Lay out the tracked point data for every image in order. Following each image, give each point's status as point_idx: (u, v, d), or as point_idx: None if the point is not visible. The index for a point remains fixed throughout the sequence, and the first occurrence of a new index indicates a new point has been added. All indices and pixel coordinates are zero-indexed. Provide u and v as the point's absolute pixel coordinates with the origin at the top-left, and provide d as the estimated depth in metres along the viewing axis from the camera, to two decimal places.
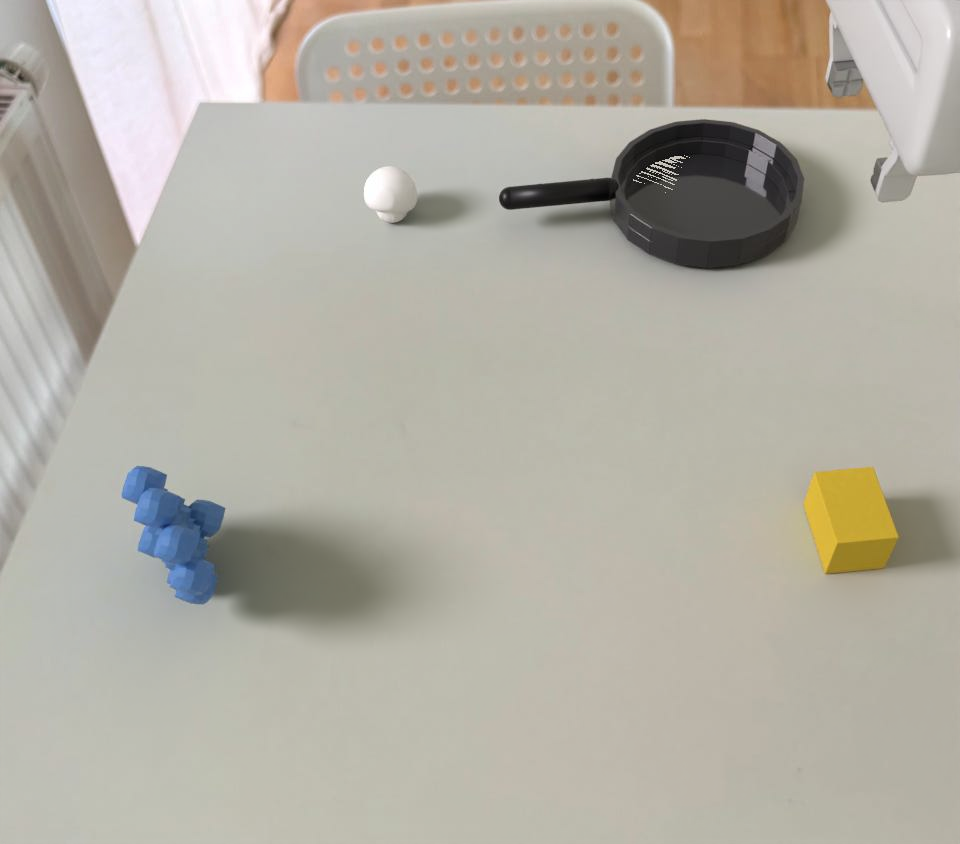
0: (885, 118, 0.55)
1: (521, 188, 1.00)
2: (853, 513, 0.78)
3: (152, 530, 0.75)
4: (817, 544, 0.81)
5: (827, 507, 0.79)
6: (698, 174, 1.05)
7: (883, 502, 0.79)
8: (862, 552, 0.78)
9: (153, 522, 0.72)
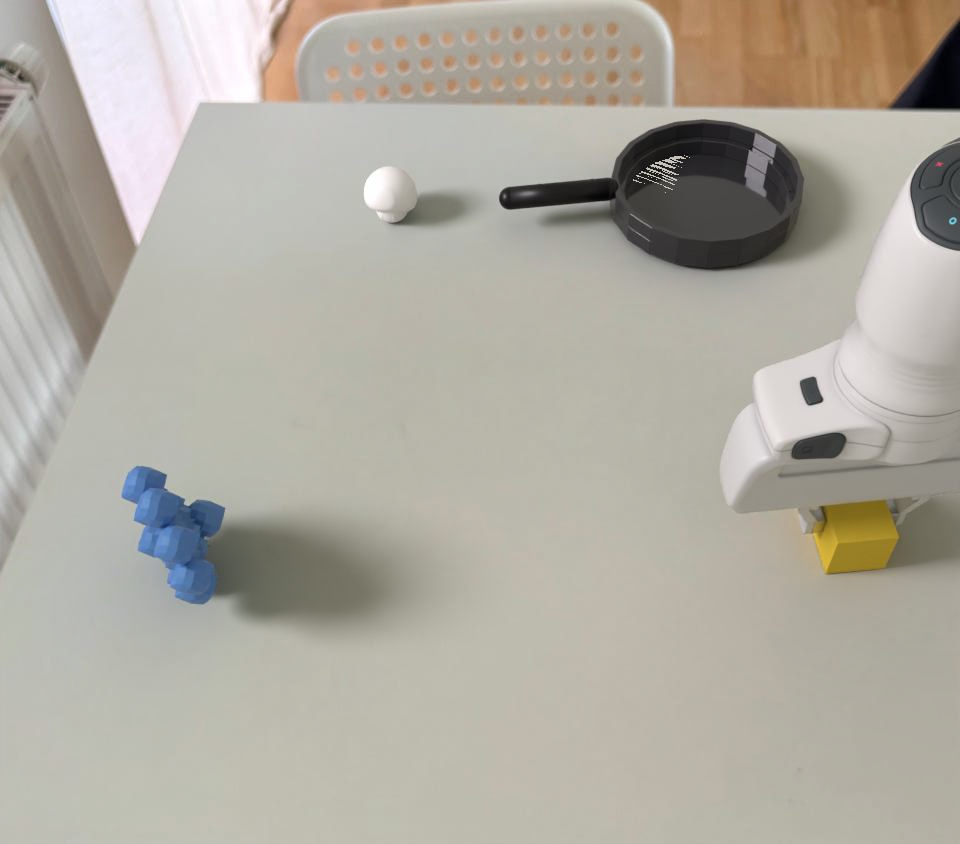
0: (953, 490, 0.75)
1: (521, 188, 1.00)
2: (854, 513, 0.78)
3: (152, 530, 0.75)
4: (818, 544, 0.81)
5: (827, 507, 0.79)
6: (698, 174, 1.05)
7: (884, 502, 0.79)
8: (863, 552, 0.78)
9: (153, 522, 0.72)
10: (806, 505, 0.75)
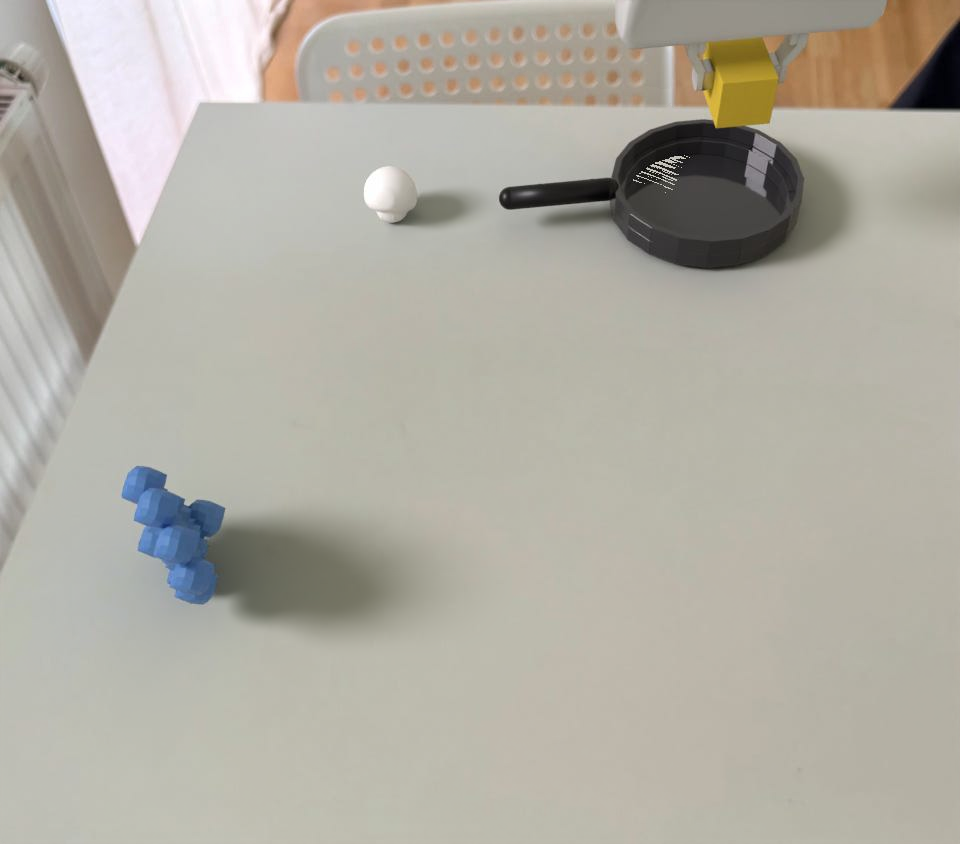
0: (825, 26, 0.83)
1: (521, 188, 1.00)
2: (739, 63, 0.86)
3: (152, 530, 0.75)
4: (710, 105, 0.89)
5: (716, 59, 0.87)
6: (698, 174, 1.05)
7: (767, 55, 0.87)
8: (747, 98, 0.86)
9: (153, 522, 0.72)
10: (692, 39, 0.83)
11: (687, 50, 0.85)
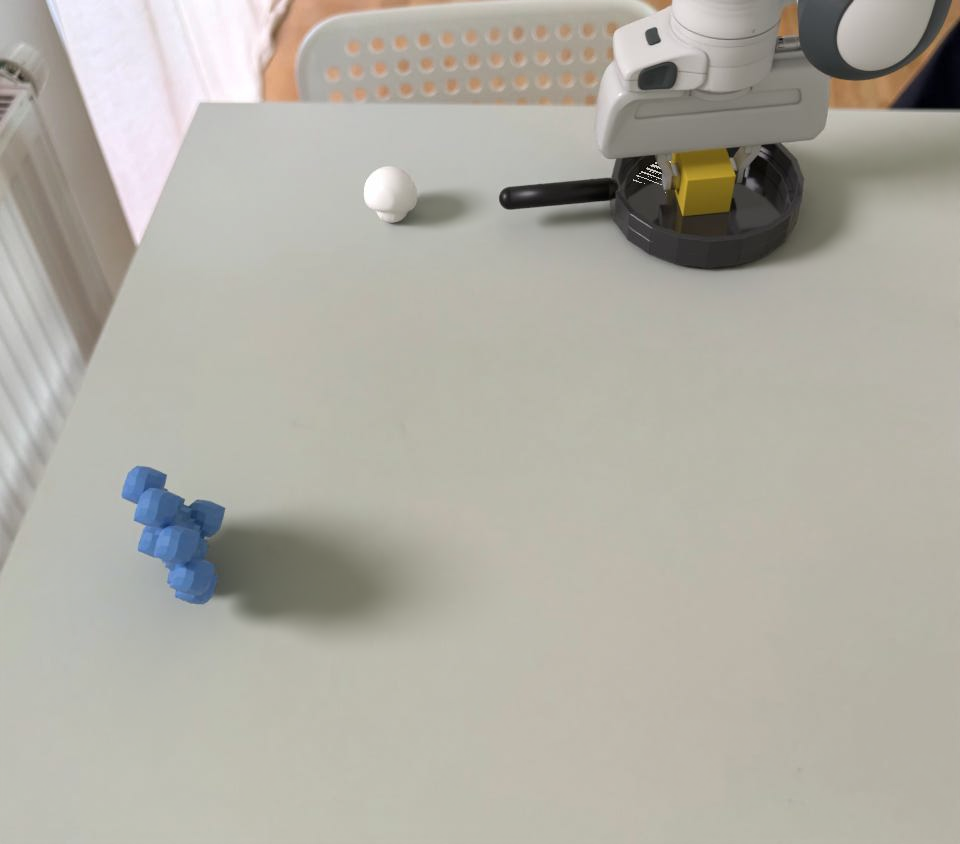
0: (774, 139, 0.97)
1: (521, 188, 1.00)
2: (702, 162, 1.00)
3: (152, 530, 0.75)
4: (678, 196, 1.03)
5: (682, 158, 1.00)
6: None
7: (726, 154, 1.00)
8: (709, 191, 1.00)
9: (153, 522, 0.72)
10: (660, 151, 0.97)
11: (656, 158, 0.99)
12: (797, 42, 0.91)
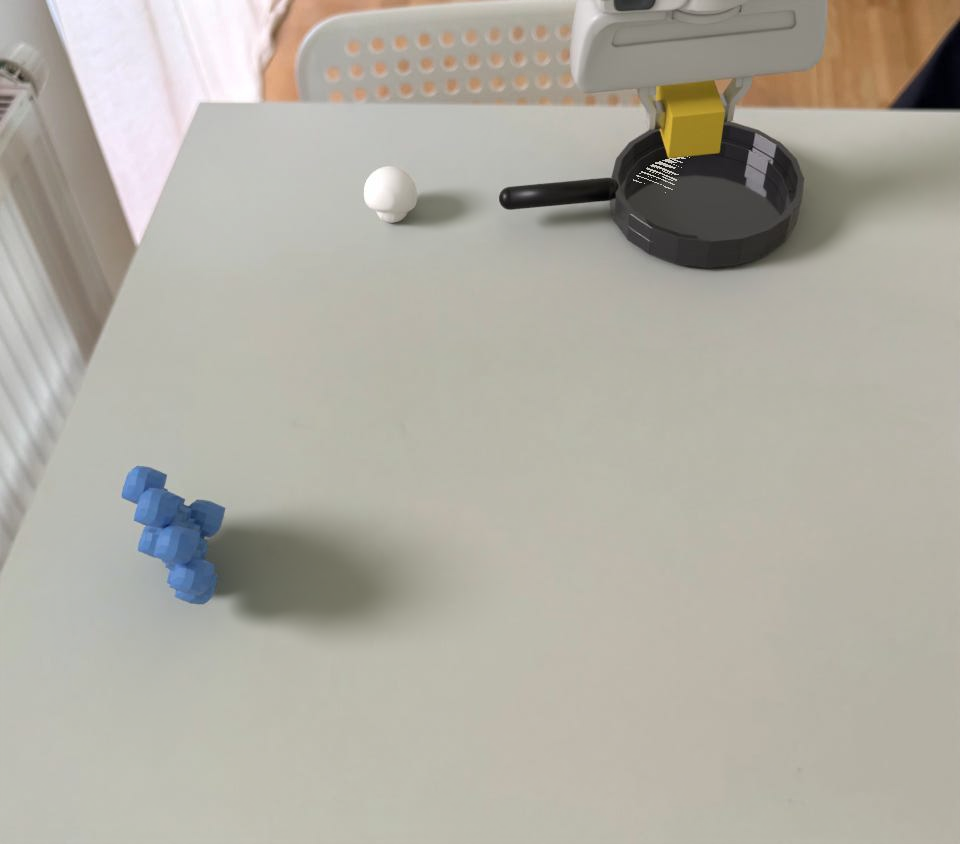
0: (767, 70, 0.89)
1: (521, 188, 1.00)
2: (688, 97, 0.91)
3: (152, 530, 0.75)
4: (663, 137, 0.94)
5: (666, 94, 0.92)
6: (698, 174, 1.05)
7: (715, 89, 0.92)
8: (696, 130, 0.91)
9: (153, 522, 0.72)
10: (642, 84, 0.89)
11: (638, 93, 0.90)
12: None
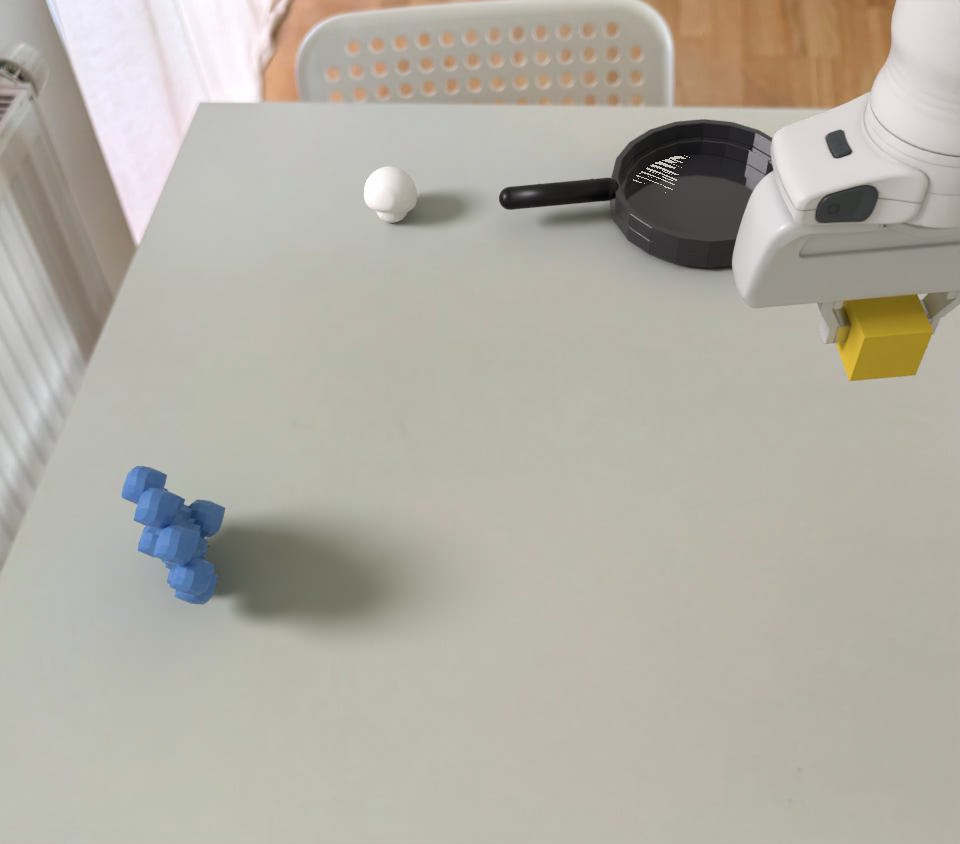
0: None
1: (521, 188, 1.00)
2: (882, 308, 0.70)
3: (152, 530, 0.75)
4: (841, 350, 0.73)
5: (852, 302, 0.71)
6: (698, 174, 1.05)
7: (915, 297, 0.71)
8: (892, 351, 0.70)
9: (153, 522, 0.72)
10: (829, 298, 0.67)
11: (820, 305, 0.69)
12: None
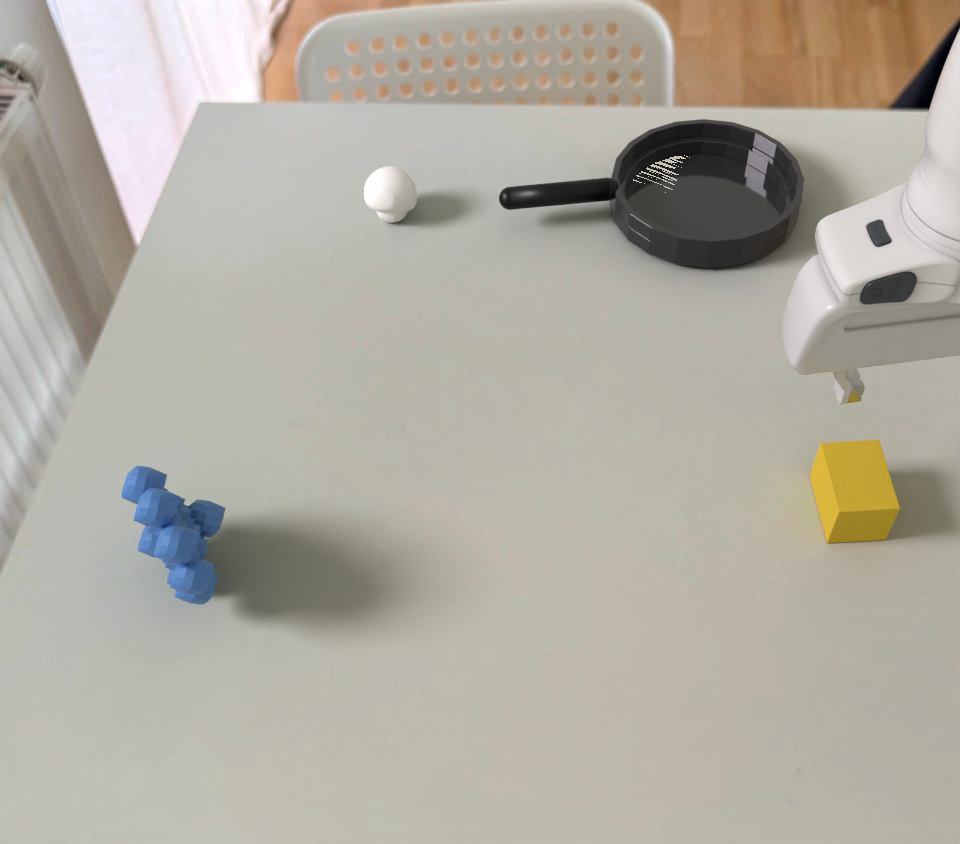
0: None
1: (521, 188, 1.00)
2: (857, 484, 0.80)
3: (152, 530, 0.75)
4: (821, 514, 0.83)
5: (831, 477, 0.80)
6: (698, 174, 1.05)
7: (887, 474, 0.80)
8: (864, 522, 0.80)
9: (153, 522, 0.72)
10: (871, 364, 0.74)
11: (834, 372, 0.76)
12: None
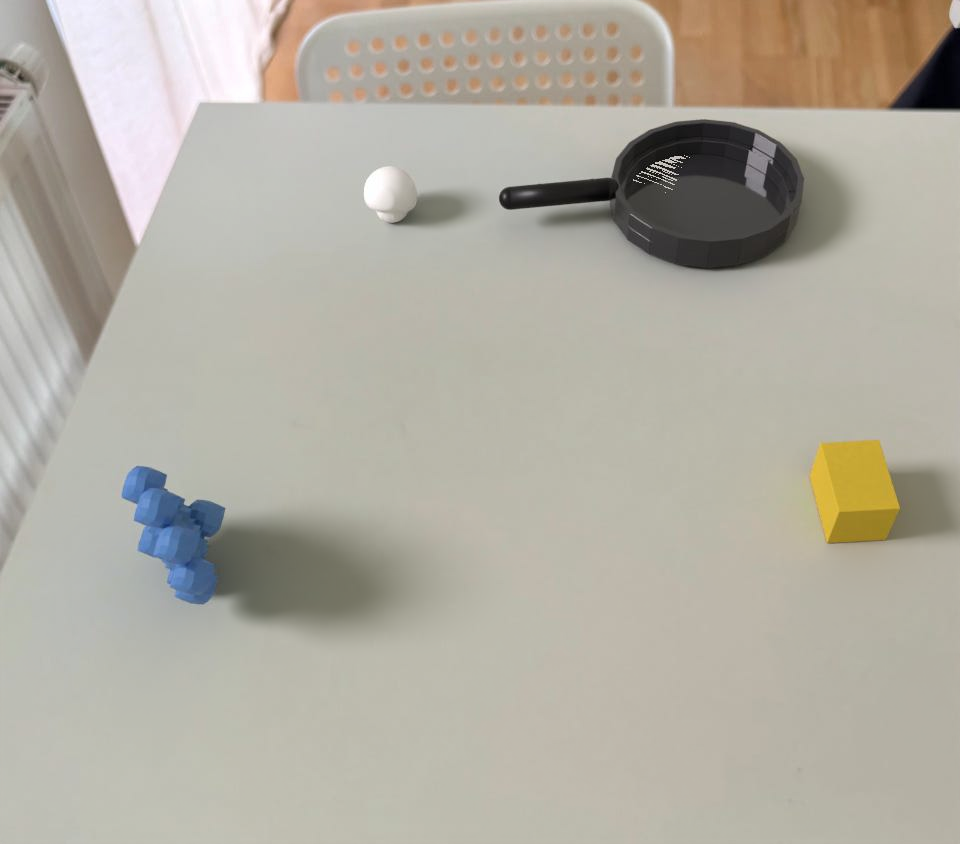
0: None
1: (521, 188, 1.00)
2: (857, 484, 0.80)
3: (152, 530, 0.75)
4: (821, 514, 0.83)
5: (831, 477, 0.80)
6: (698, 174, 1.05)
7: (887, 474, 0.80)
8: (864, 522, 0.80)
9: (153, 522, 0.72)
10: None
11: None
12: None
